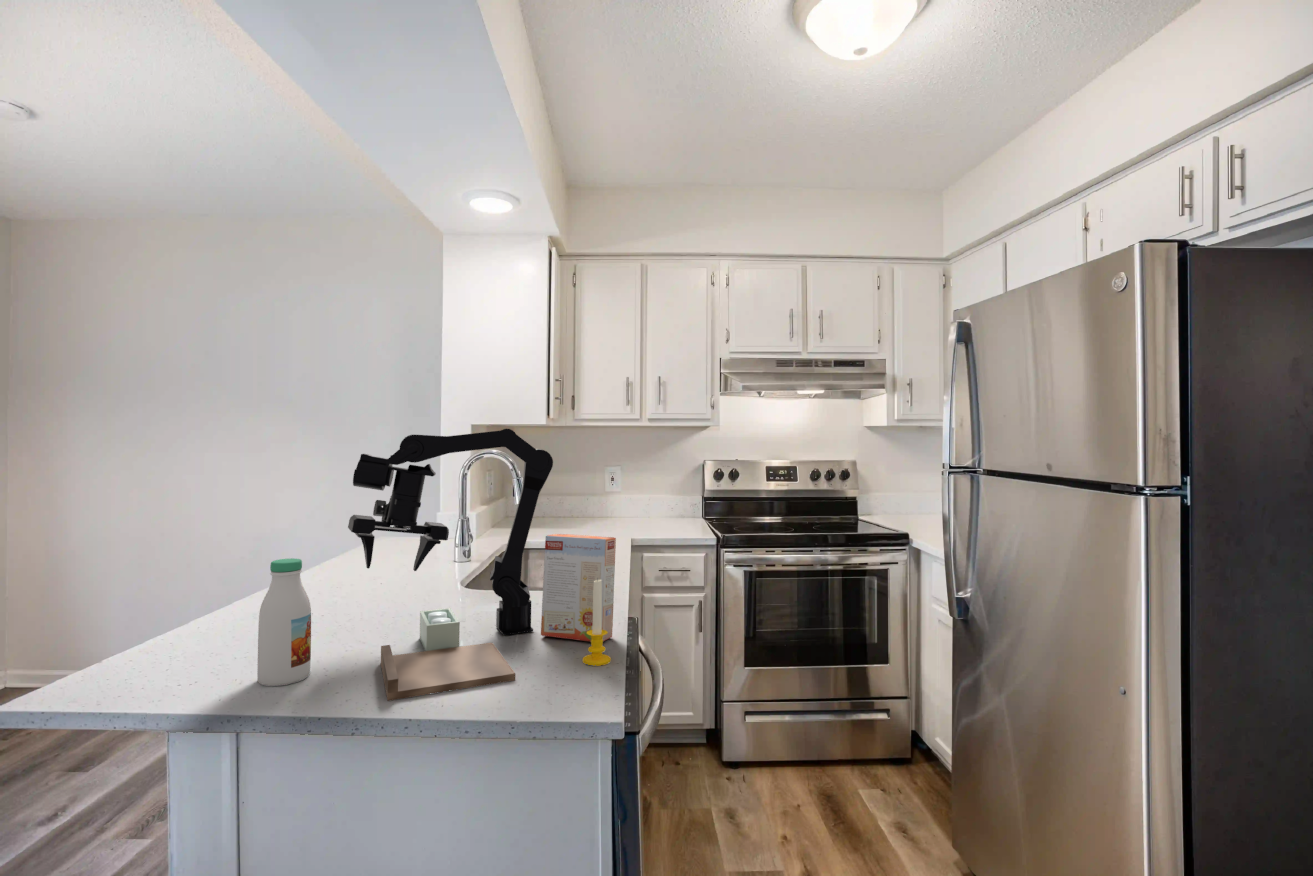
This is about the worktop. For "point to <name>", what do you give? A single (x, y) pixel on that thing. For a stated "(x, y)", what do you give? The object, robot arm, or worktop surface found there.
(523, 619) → the robot arm
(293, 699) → the worktop surface
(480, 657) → the walnut shelf
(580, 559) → the cracker box
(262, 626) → the milk bottle
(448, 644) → the pale green crate
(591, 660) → the candle
